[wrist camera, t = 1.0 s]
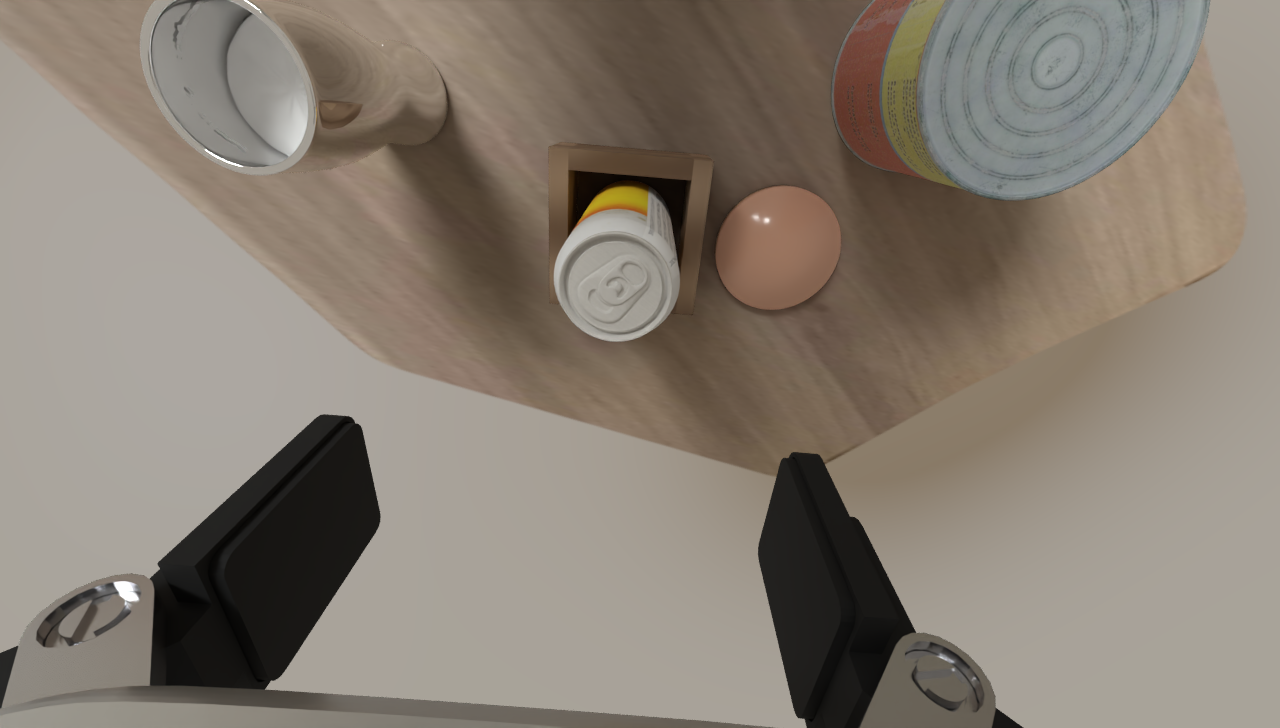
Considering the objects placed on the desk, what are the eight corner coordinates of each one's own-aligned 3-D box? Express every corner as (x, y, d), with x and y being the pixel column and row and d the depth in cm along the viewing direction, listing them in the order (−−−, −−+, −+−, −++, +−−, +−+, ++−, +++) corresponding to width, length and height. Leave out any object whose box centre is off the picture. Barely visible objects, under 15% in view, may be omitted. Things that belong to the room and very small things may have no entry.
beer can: (570, 219, 36) (522, 284, 23) (631, 159, 34) (618, 192, 21) (626, 279, 38) (612, 371, 25) (687, 226, 36) (708, 295, 23)
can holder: (560, 142, 34) (548, 146, 30) (706, 154, 34) (713, 161, 30) (560, 282, 38) (549, 303, 34) (688, 293, 38) (692, 314, 34)
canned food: (992, 163, 34) (1148, 189, 23) (823, 179, 34) (900, 210, 24) (1038, -45, 29) (1267, -136, 18) (839, -22, 29) (946, -97, 19)
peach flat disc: (725, 179, 35) (726, 181, 34) (852, 190, 35) (856, 192, 34) (706, 301, 39) (707, 304, 38) (820, 310, 39) (823, 314, 38)
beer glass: (475, 122, 33) (357, 132, 20) (393, 170, 35) (233, 209, 21) (411, 9, 30) (224, -68, 17) (325, 66, 32) (91, 37, 19)
